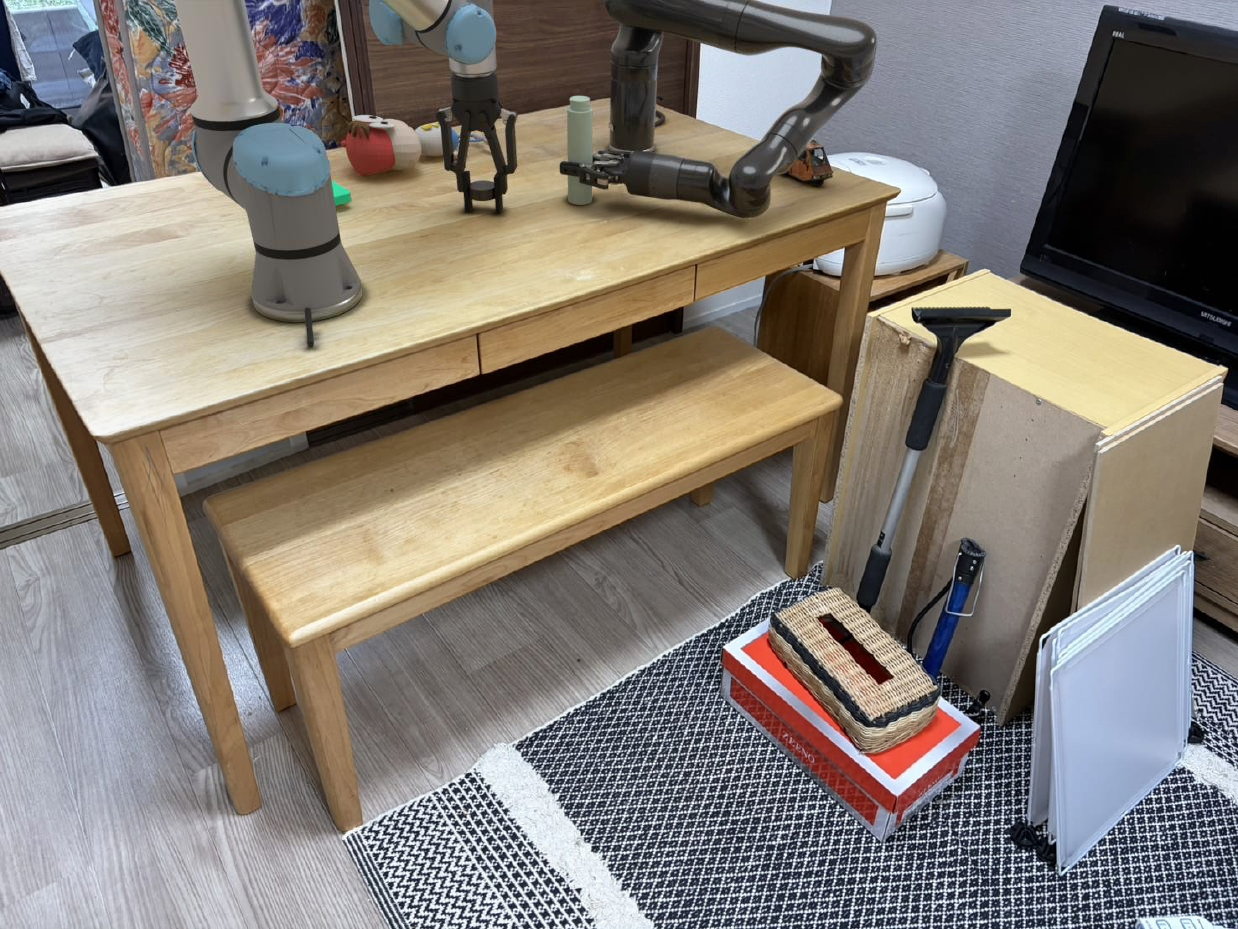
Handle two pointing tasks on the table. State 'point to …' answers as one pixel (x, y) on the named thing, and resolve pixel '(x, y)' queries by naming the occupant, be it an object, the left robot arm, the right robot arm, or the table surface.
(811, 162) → the toy car
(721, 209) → the right robot arm
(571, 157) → the jar
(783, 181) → the table surface
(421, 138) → the toy
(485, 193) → the lid
